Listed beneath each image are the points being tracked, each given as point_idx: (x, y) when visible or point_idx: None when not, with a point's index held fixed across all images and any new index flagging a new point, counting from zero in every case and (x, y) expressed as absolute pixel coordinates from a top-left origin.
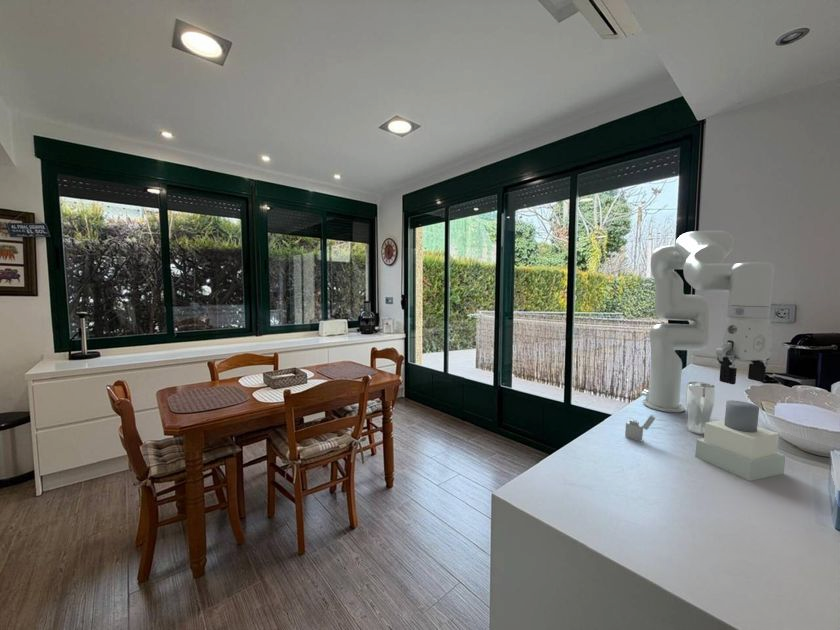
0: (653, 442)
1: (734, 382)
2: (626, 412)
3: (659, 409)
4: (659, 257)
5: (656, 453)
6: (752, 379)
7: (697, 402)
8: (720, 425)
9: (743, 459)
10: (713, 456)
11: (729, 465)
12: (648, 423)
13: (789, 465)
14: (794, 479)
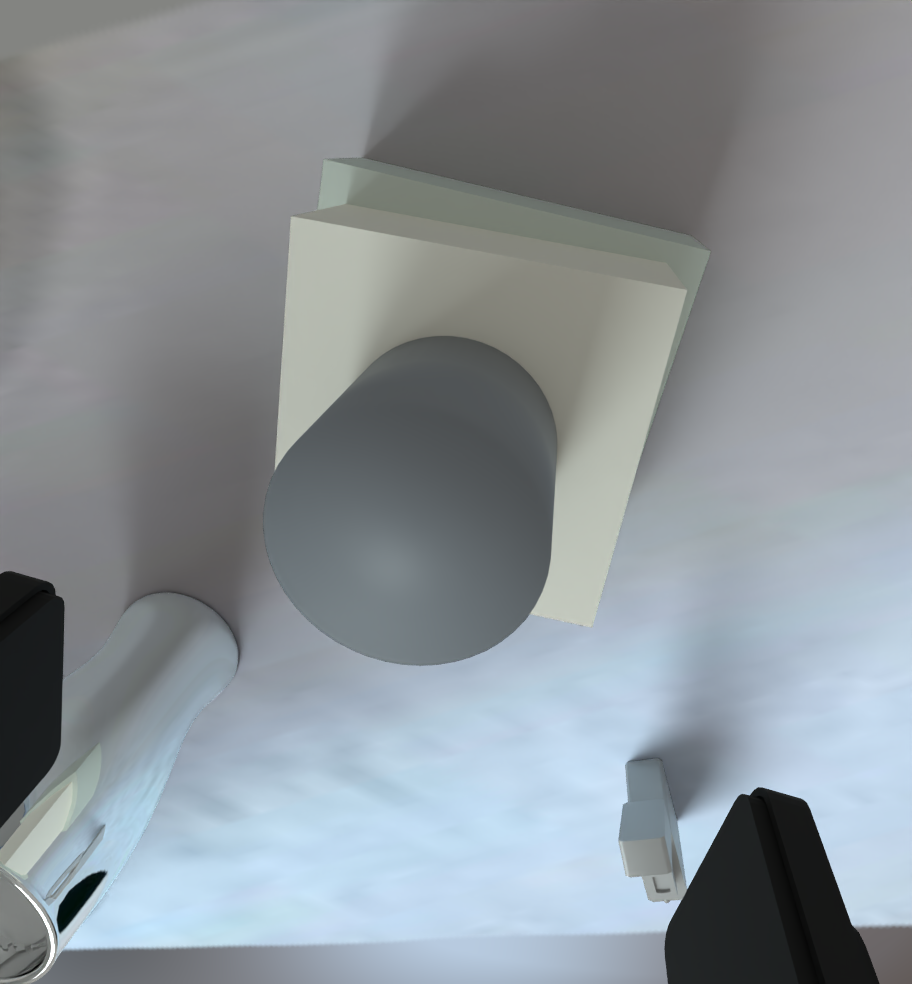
0: (610, 717)
1: (798, 816)
2: (291, 933)
3: None
4: None
5: (767, 655)
6: (58, 705)
7: (136, 794)
8: None
9: (692, 297)
10: None
11: None
12: (668, 832)
13: (189, 180)
14: (398, 88)
